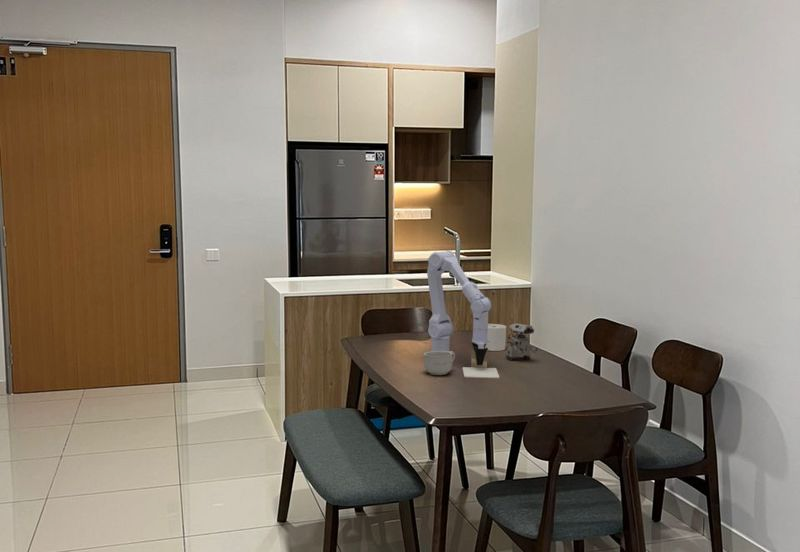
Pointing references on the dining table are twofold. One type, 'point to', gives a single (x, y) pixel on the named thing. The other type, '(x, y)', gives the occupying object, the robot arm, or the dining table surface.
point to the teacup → (438, 362)
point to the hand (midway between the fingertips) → (479, 362)
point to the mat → (480, 372)
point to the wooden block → (474, 363)
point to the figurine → (519, 341)
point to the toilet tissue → (496, 337)
